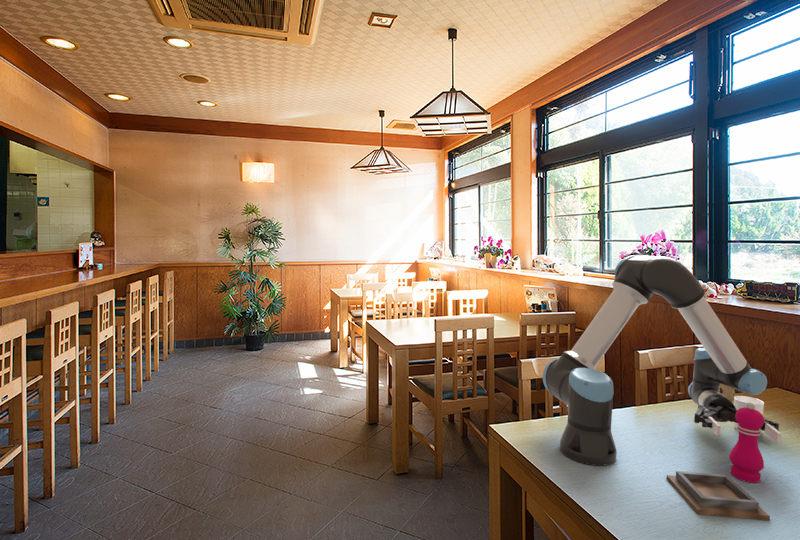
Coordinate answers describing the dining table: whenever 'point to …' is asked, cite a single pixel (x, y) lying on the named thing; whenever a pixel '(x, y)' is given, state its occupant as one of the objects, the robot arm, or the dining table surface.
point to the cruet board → (716, 495)
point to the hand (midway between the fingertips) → (748, 434)
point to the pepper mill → (747, 445)
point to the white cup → (743, 400)
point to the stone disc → (728, 392)
